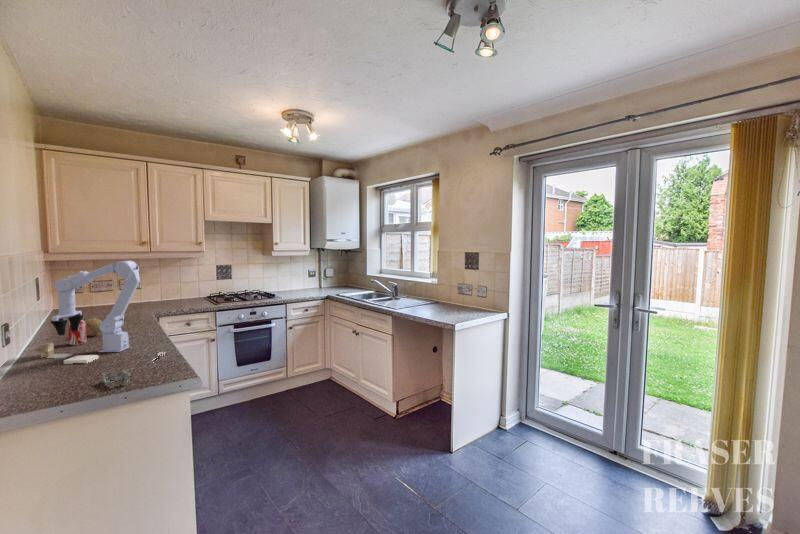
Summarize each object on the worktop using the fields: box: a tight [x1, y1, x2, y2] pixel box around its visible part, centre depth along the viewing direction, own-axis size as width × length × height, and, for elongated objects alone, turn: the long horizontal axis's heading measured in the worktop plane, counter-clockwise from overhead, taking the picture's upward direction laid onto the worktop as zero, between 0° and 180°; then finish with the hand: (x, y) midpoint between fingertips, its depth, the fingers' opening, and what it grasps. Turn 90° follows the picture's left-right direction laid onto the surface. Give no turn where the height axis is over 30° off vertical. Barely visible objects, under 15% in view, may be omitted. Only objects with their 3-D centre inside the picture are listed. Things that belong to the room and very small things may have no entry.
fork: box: [151, 351, 166, 361], centre depth 155 cm, size 3×20×2 cm, turn 14°
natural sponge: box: [84, 317, 103, 337], centre depth 195 cm, size 9×9×10 cm
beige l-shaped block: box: [39, 342, 74, 359], centre depth 160 cm, size 10×5×6 cm, turn 97°
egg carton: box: [101, 369, 132, 388], centre depth 132 cm, size 11×8×4 cm
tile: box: [63, 354, 100, 365], centre depth 155 cm, size 2×7×9 cm
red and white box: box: [67, 319, 88, 346], centre depth 180 cm, size 7×7×12 cm
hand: (68, 332), depth 165 cm, fingers open, 7 cm apart
